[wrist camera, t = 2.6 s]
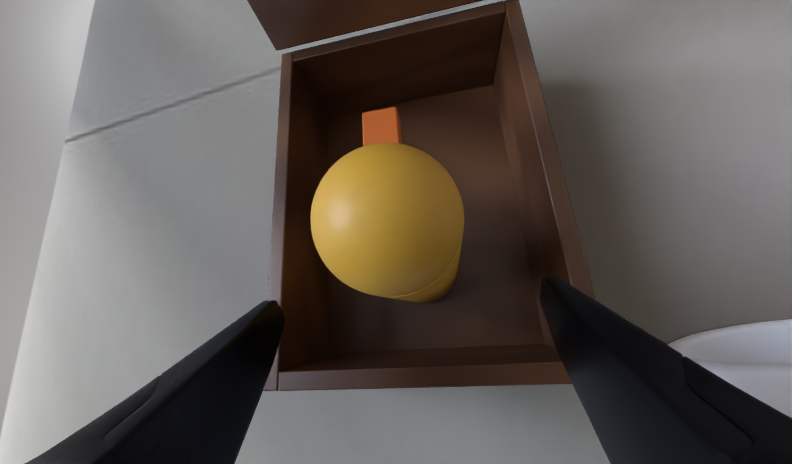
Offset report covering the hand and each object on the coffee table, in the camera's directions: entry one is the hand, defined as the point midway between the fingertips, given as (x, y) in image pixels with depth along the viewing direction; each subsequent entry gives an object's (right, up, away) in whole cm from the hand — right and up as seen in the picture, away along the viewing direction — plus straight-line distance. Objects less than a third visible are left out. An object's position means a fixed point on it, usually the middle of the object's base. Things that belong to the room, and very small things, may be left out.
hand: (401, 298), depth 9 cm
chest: (+1, +4, +11) cm, 11 cm away
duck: (+2, 0, +9) cm, 9 cm away
